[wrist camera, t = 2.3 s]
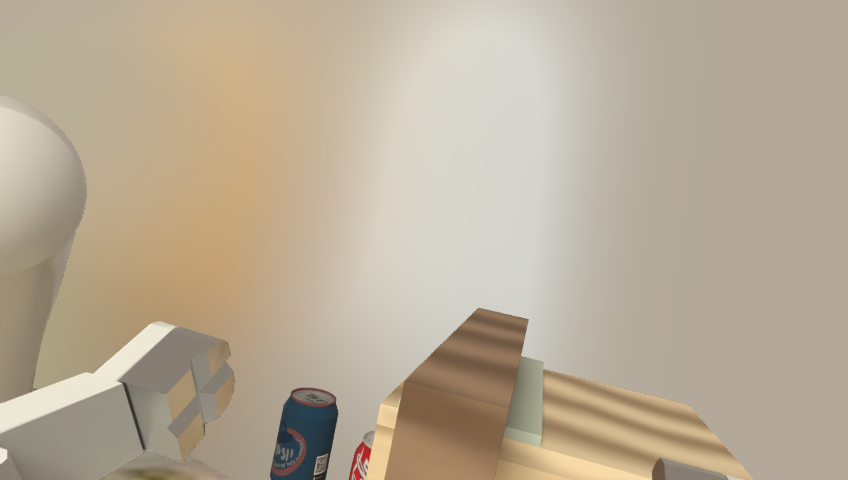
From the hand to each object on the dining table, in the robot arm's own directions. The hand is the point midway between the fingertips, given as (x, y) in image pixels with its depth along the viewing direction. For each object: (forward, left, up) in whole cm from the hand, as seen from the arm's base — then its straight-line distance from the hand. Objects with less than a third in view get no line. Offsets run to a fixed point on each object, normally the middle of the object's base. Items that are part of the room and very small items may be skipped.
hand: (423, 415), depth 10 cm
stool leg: (-12, +20, -7) cm, 25 cm away
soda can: (-48, +37, -33) cm, 69 cm away
